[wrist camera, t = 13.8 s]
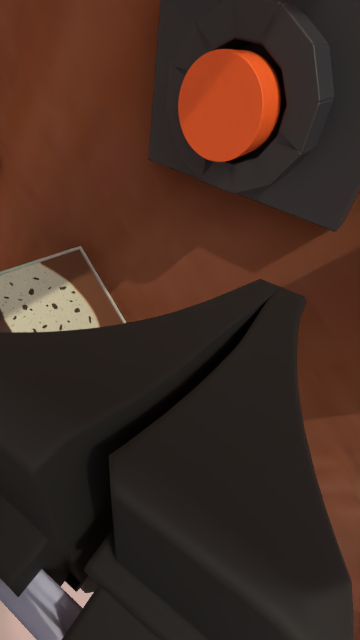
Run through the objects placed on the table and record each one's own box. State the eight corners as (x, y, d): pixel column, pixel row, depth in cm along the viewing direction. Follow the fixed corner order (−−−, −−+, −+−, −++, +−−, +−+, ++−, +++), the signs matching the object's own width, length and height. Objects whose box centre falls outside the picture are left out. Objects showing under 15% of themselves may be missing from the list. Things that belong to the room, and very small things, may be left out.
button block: (452, 3, 12) (449, -12, 9) (343, 222, 17) (324, 248, 15) (182, -35, 15) (131, -53, 13) (163, 155, 21) (124, 167, 18)
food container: (41, 251, 33) (-65, 299, 27) (71, 229, 29) (-47, 279, 22) (106, 356, 36) (26, 422, 30) (142, 350, 32) (58, 425, 25)
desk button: (295, 60, 12) (277, 61, 11) (264, 165, 15) (247, 174, 13) (209, 41, 13) (185, 39, 12) (193, 141, 16) (172, 147, 15)
